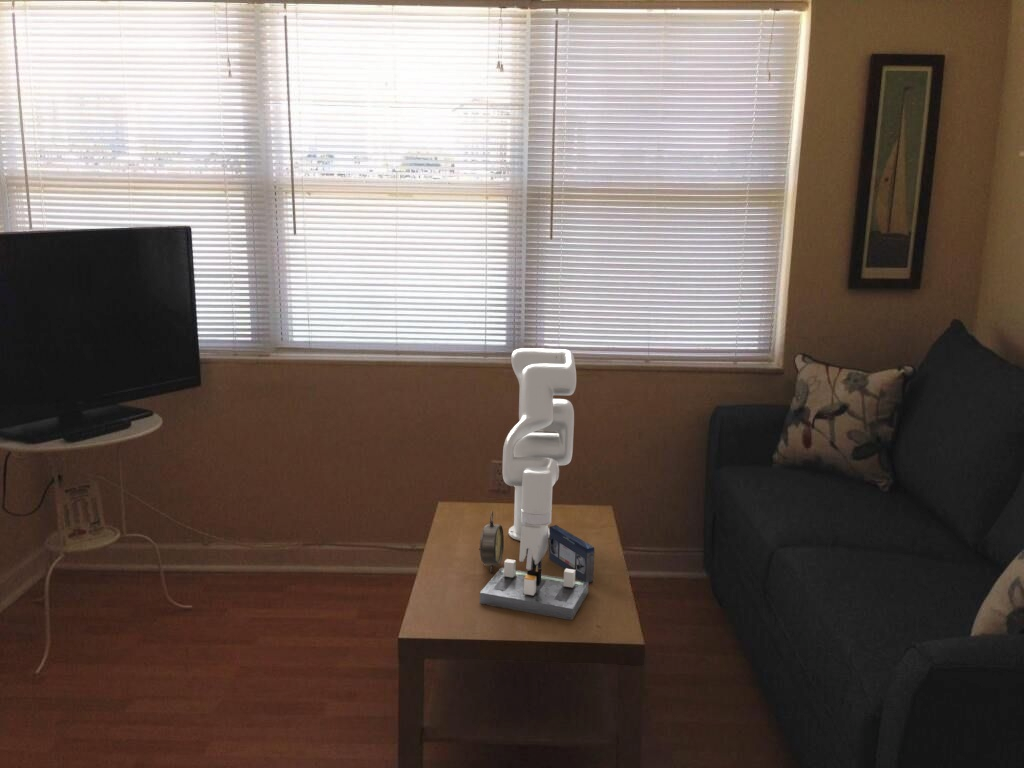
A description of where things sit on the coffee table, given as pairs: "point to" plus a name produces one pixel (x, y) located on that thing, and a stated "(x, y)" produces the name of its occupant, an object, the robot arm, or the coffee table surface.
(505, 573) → the breaker
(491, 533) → the dial indicator gauge
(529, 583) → the block
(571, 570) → the block
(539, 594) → the breaker panel
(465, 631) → the coffee table surface
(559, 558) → the vhs cassette tape
